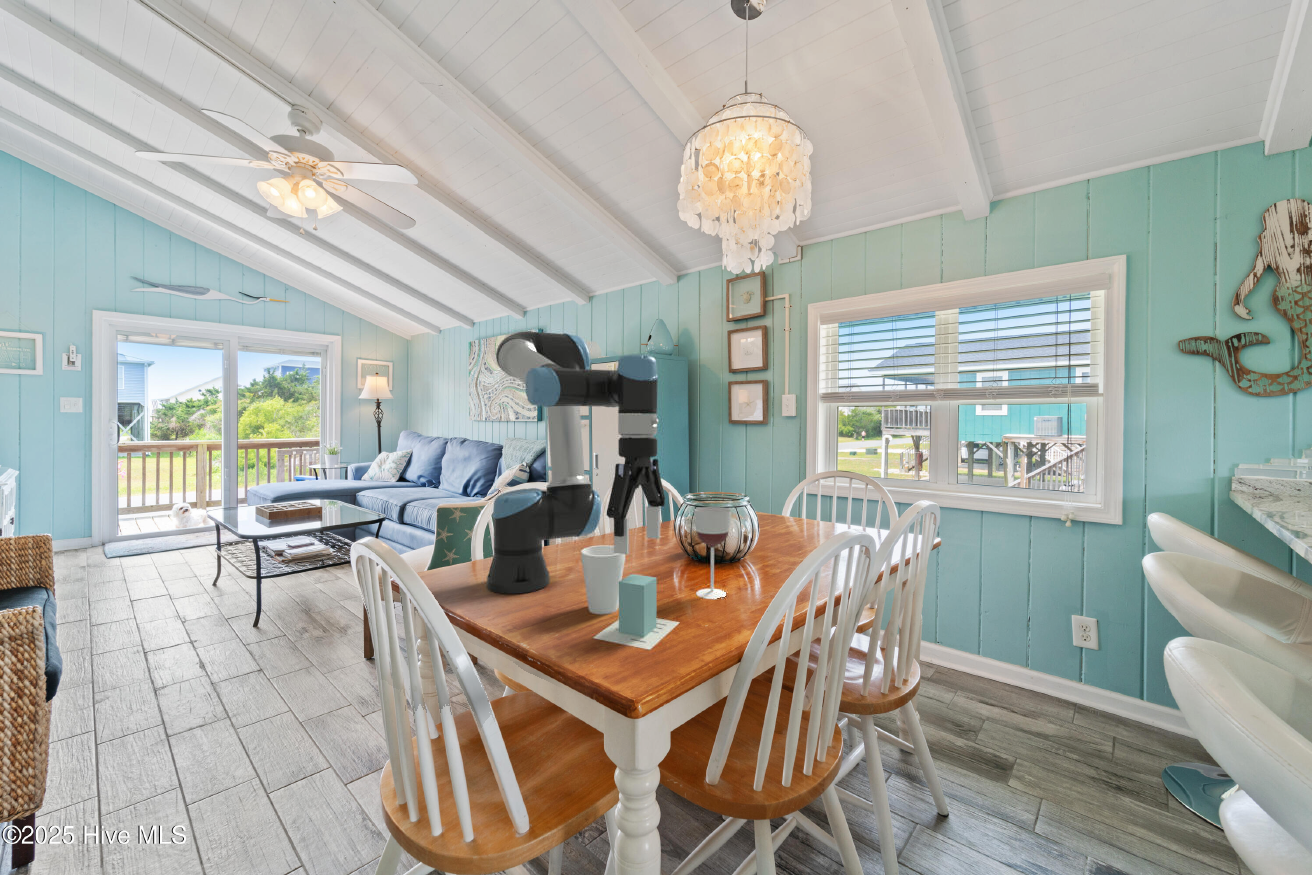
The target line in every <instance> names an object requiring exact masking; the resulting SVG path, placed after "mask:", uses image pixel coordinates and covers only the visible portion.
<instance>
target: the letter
mask: <svg viewBox="0 0 1312 875" xmlns="http://www.w3.org/2000/svg"><path fill="white" fill-rule="evenodd" d="M679 624H680V621H674V620H668V619H663V618H657V617H656V628H655V629H654V630H653V631H651V632H650V633H649V634H648V635H647V636H645V637H639V636H634V635H629V634H624V633H619V619H617V620H616V621H614V622H613V623H612V624H610V625H609V626H607V627H606V628H604V629H603V630H602V631H600V632H599V633H597V634H596V635H595V636H593V637H592V639H596V640H601V641H606V642H611V643H616V644H621V645H624V646H629V647H635V648H640V649H645V650H649V651H650V650H652V649H653V647H655V646H656V645H657V644H658V643H659V642H660V641H662V639H664V638H665V637H666V636H667V635H668V634H669V633H670V632H672V631H673V629H674V628H676V627H677V626H678V625H679Z"/></svg>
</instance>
